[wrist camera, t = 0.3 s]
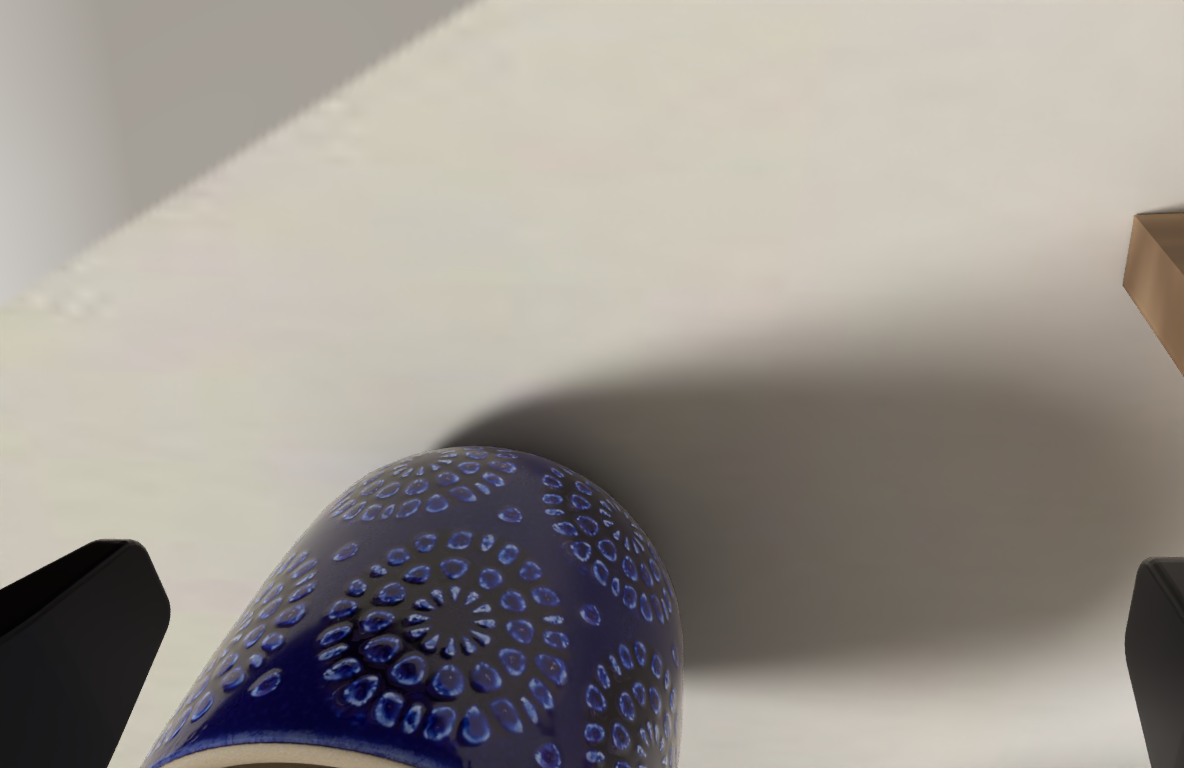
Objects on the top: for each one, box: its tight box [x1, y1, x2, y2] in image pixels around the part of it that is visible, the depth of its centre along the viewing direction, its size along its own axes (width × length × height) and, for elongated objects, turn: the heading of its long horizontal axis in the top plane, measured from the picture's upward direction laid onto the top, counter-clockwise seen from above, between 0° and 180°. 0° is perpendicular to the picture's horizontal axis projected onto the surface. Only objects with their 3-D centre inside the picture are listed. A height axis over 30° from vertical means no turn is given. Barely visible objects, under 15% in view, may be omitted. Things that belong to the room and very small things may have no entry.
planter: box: [140, 446, 683, 768], centre depth 23 cm, size 11×11×11 cm
